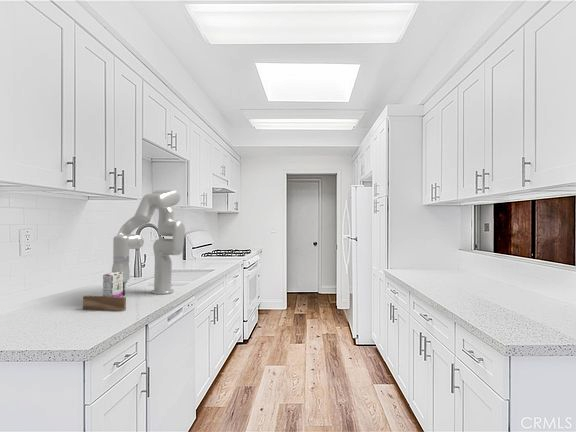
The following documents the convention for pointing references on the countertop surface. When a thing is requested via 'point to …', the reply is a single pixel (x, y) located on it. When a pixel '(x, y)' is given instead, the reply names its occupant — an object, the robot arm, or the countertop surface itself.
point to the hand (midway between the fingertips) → (120, 296)
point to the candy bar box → (113, 284)
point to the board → (104, 303)
